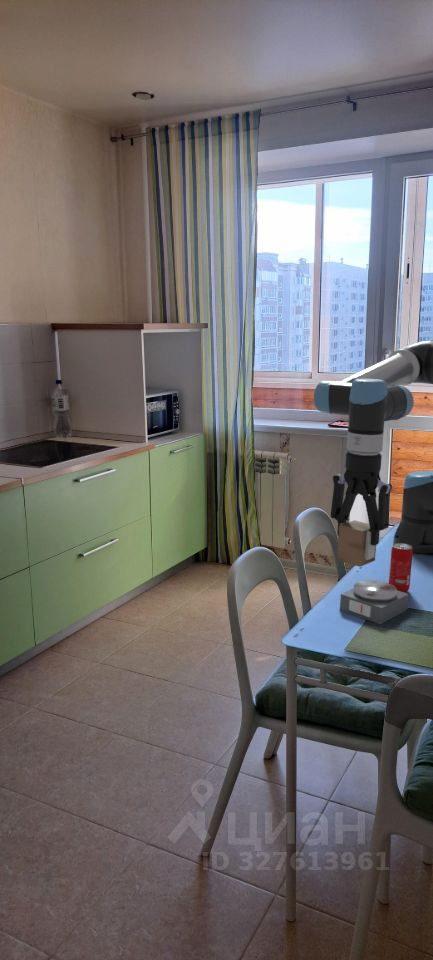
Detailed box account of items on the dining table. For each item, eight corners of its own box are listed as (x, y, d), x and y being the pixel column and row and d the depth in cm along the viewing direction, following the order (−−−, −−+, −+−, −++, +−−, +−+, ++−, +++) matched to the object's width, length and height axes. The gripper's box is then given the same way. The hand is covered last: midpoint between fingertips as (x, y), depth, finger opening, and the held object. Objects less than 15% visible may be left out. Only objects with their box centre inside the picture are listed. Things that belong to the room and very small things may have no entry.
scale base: (367, 596, 174) (368, 581, 174) (407, 609, 167) (408, 593, 166) (338, 610, 166) (339, 594, 165) (379, 625, 158) (380, 608, 157)
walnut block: (352, 553, 160) (354, 520, 158) (374, 560, 156) (377, 526, 154) (336, 559, 156) (339, 525, 154) (360, 566, 151) (362, 531, 150)
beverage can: (385, 592, 177) (389, 547, 175) (390, 585, 182) (394, 541, 179) (406, 596, 175) (410, 550, 172) (411, 589, 179) (415, 545, 177)
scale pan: (368, 582, 172) (368, 577, 172) (404, 594, 166) (405, 588, 165) (345, 593, 165) (345, 587, 165) (382, 606, 159) (382, 599, 158)
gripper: (317, 447, 154) (311, 547, 159) (394, 461, 141) (385, 569, 146) (337, 443, 159) (330, 540, 164) (412, 456, 146) (403, 561, 152)
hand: (356, 554), depth 155 cm, fingers closed on walnut block, 6 cm apart
